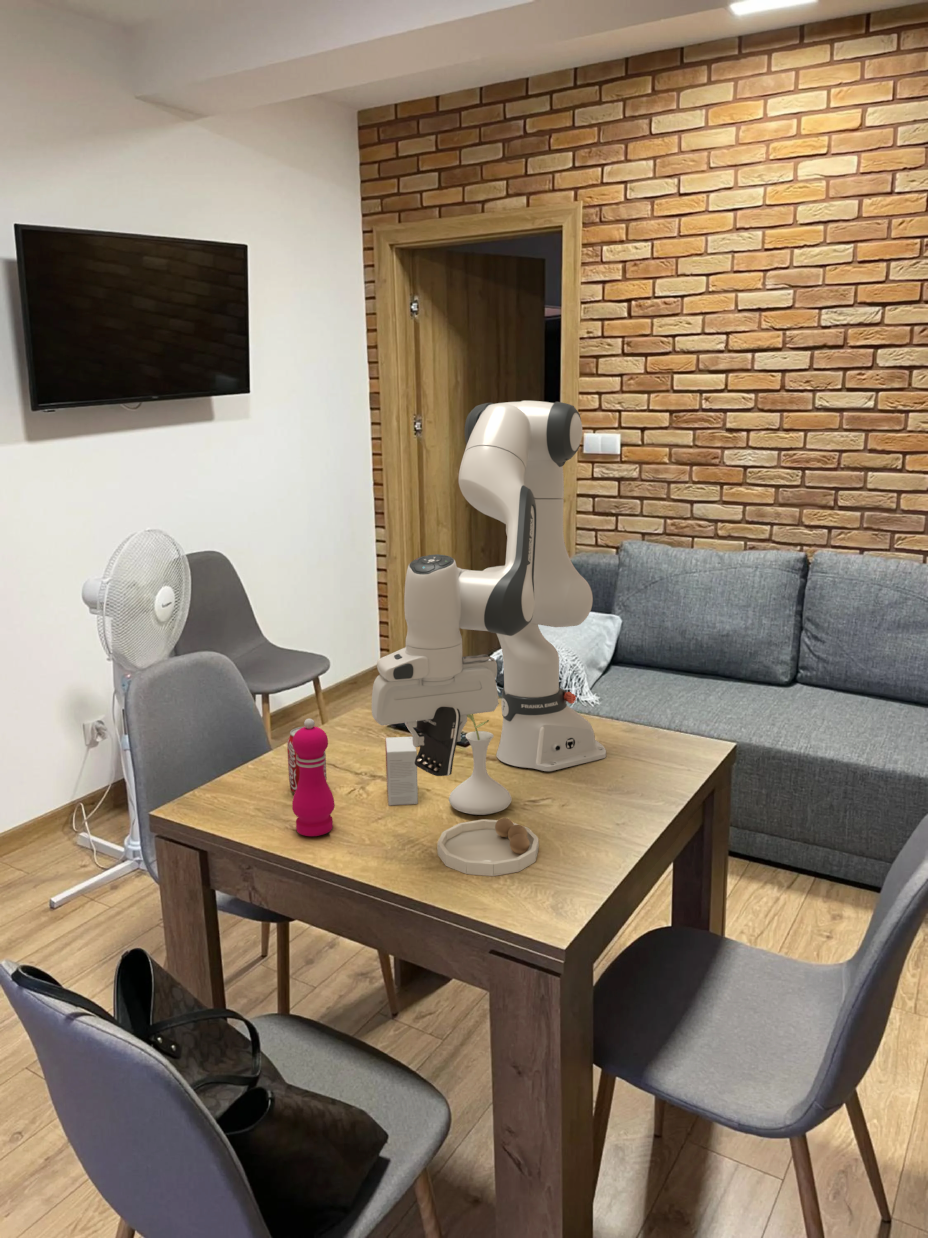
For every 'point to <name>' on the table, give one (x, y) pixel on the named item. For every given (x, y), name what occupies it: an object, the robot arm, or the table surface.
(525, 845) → the bead
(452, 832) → the tray
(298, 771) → the soda can
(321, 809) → the pepper mill
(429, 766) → the battery charger
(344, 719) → the table surface
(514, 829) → the bead
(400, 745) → the small box
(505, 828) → the bead
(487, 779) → the flower in vase
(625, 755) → the table surface
